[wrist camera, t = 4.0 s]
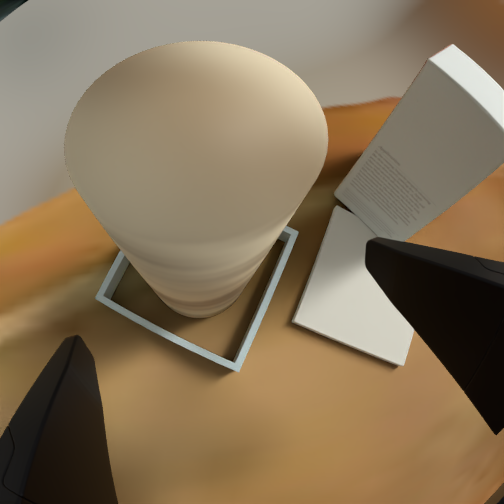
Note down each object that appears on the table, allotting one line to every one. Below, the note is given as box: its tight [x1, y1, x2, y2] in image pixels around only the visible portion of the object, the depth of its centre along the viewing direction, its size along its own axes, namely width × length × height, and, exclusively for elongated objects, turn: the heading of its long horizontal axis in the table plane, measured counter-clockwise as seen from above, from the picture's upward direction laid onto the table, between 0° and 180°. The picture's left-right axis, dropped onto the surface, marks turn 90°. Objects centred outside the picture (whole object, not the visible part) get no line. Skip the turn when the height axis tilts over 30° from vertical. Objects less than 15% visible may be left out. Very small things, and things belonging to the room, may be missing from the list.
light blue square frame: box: [95, 226, 299, 372], centre depth 18 cm, size 9×9×2 cm
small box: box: [334, 44, 504, 242], centre depth 17 cm, size 8×6×13 cm
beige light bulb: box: [64, 41, 328, 318], centre depth 13 cm, size 6×6×14 cm
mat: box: [292, 206, 414, 366], centre depth 20 cm, size 9×9×1 cm
